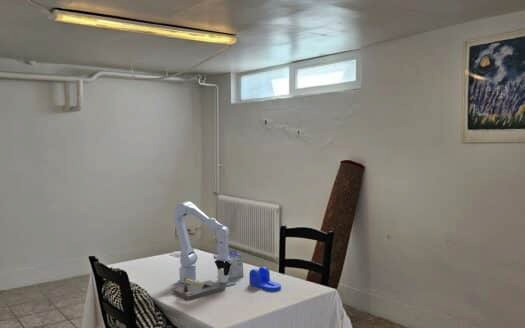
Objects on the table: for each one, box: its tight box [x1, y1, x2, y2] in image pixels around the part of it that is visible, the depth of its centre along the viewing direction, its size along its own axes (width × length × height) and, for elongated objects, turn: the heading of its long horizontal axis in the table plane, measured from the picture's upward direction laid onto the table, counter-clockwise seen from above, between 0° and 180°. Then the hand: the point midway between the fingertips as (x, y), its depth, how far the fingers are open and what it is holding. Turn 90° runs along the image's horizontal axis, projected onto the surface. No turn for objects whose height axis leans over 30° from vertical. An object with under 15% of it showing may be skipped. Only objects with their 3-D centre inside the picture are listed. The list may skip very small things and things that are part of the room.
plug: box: [216, 268, 230, 283], centre depth 254 cm, size 5×7×6 cm
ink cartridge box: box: [228, 249, 244, 279], centre depth 268 cm, size 10×6×14 cm, turn 112°
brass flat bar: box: [183, 278, 203, 291], centre depth 233 cm, size 2×14×6 cm, turn 45°
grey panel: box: [173, 279, 226, 301], centre depth 243 cm, size 14×22×2 cm, turn 130°
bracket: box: [249, 266, 282, 292], centre depth 249 cm, size 18×8×9 cm, turn 42°
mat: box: [214, 280, 236, 288], centre depth 254 cm, size 9×9×1 cm
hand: (223, 274), depth 254 cm, fingers open, 4 cm apart
